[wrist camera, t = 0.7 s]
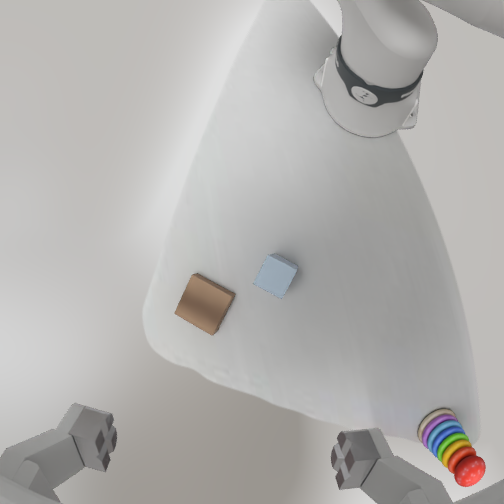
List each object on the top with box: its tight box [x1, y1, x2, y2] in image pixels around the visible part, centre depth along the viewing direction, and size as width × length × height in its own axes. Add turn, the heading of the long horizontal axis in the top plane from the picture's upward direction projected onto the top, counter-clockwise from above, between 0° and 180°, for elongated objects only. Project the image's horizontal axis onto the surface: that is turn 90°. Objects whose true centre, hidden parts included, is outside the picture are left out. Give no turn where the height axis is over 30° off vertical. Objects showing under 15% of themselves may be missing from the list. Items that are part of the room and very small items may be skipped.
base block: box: [174, 273, 236, 336], centre depth 49 cm, size 7×7×3 cm
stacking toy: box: [418, 409, 486, 487], centre depth 34 cm, size 8×8×19 cm
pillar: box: [253, 254, 298, 299], centre depth 43 cm, size 4×4×10 cm
